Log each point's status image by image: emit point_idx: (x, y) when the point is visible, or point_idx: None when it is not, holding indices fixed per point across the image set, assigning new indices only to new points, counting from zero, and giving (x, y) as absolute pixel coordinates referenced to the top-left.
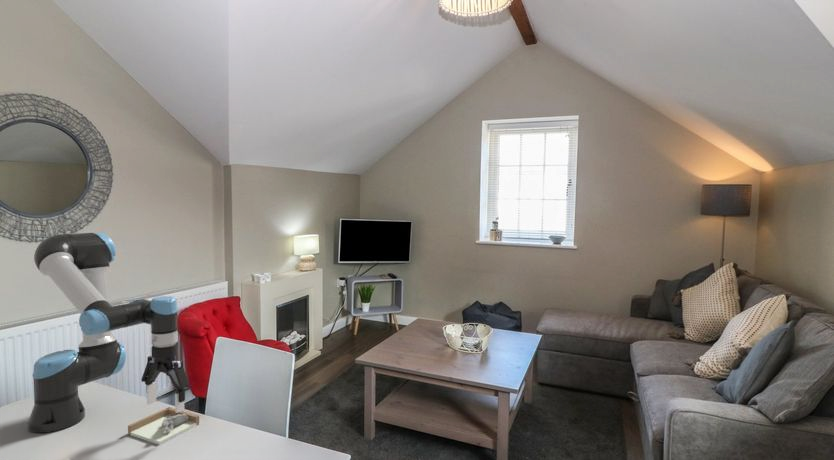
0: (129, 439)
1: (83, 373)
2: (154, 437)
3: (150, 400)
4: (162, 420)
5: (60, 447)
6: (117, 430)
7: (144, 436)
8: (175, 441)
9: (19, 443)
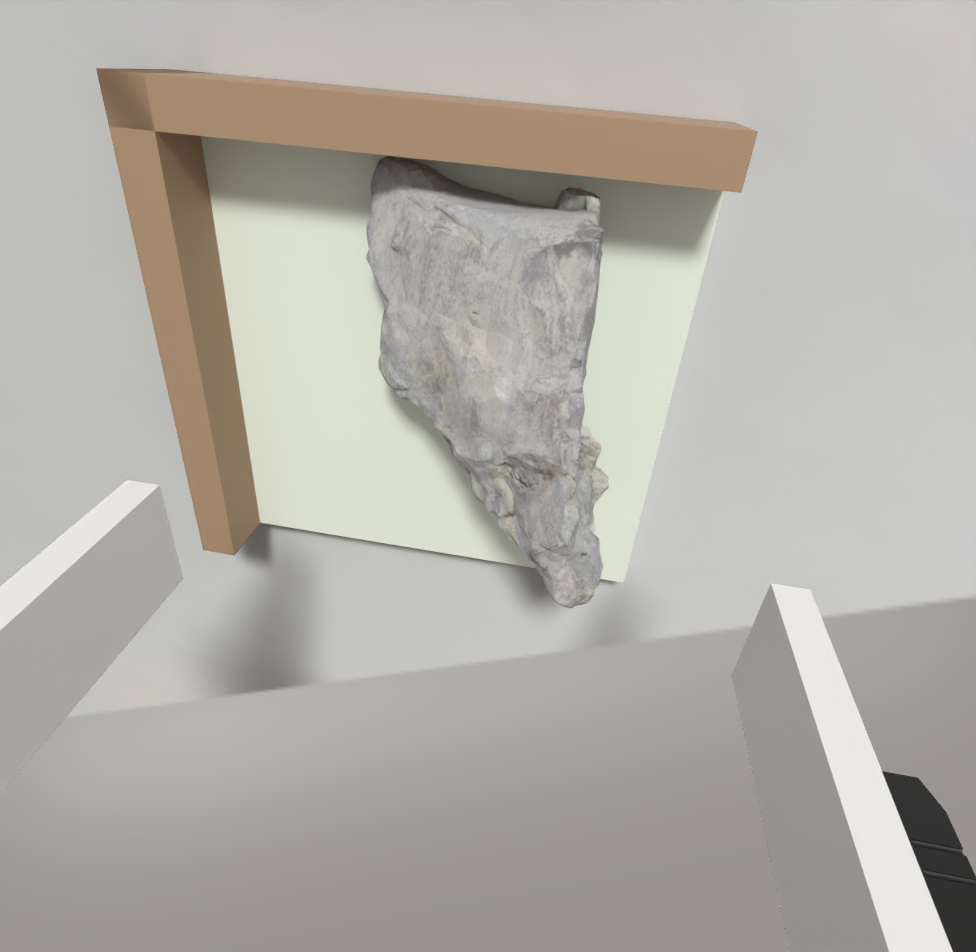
0: (327, 549)
1: None
2: None
3: (147, 591)
4: (287, 275)
5: None
6: (109, 476)
7: (426, 545)
8: (717, 496)
9: None
